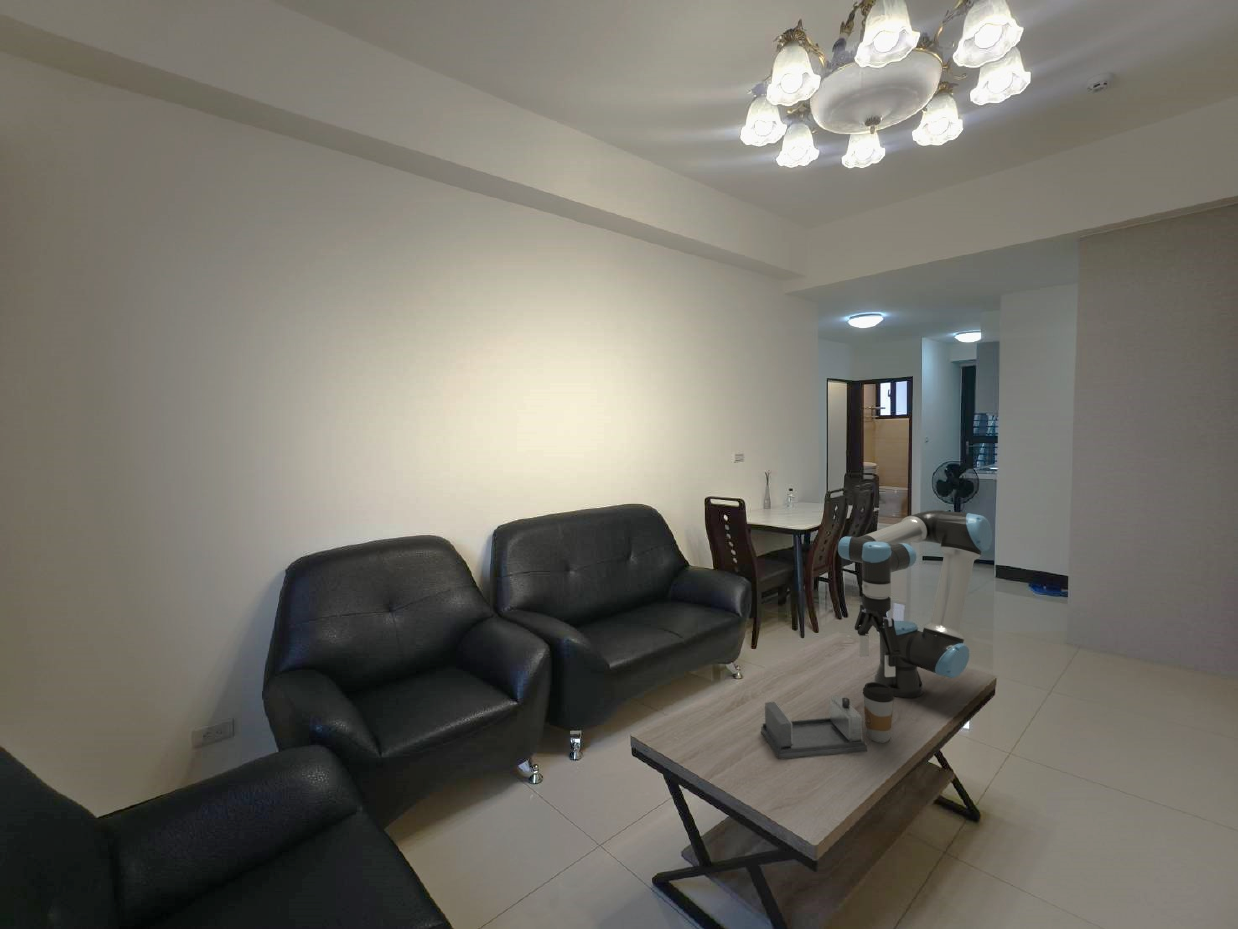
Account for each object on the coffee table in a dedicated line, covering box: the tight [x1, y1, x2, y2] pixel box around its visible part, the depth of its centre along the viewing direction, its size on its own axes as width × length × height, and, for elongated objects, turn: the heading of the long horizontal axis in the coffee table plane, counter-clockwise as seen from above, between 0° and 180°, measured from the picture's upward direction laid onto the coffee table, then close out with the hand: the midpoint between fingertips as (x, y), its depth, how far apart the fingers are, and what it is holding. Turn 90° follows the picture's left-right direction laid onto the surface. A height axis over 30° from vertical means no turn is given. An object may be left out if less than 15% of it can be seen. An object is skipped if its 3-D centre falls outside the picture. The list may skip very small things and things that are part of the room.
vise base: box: [760, 701, 868, 760], centre depth 159 cm, size 26×14×10 cm, turn 96°
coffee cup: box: [862, 681, 895, 743], centre depth 160 cm, size 8×8×15 cm
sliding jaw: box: [829, 695, 863, 742], centre depth 160 cm, size 4×12×10 cm, turn 6°
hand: (876, 665), depth 159 cm, fingers open, 13 cm apart
